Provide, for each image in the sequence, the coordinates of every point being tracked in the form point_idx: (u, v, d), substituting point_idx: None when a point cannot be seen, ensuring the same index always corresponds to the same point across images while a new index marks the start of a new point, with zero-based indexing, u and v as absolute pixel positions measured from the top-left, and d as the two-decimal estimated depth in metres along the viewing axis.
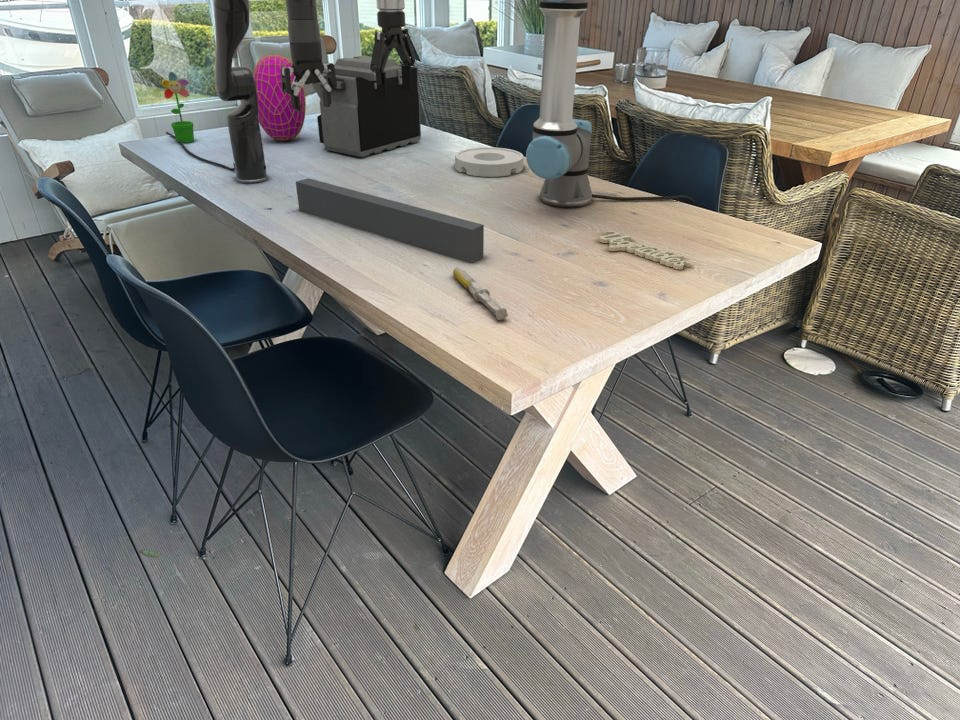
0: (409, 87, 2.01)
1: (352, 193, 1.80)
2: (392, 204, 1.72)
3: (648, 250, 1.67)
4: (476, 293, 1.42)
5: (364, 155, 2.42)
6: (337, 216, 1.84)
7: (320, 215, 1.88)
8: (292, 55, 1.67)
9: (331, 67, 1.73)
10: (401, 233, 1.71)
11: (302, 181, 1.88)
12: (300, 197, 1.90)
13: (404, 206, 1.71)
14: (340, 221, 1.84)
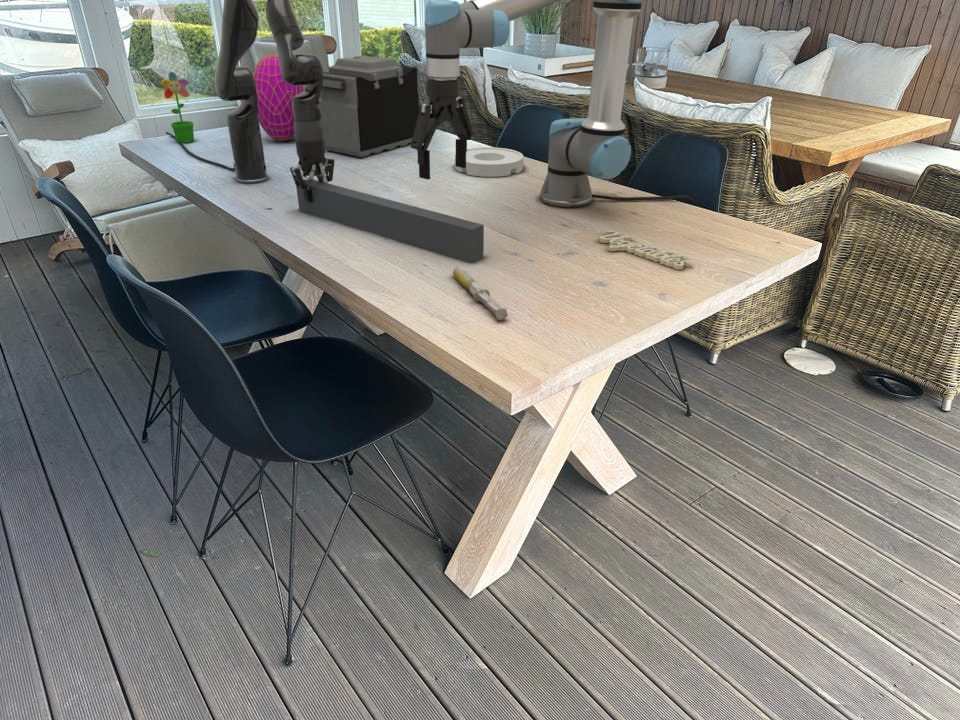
0: (463, 164, 1.68)
1: (352, 193, 1.80)
2: (392, 204, 1.72)
3: (648, 250, 1.67)
4: (476, 293, 1.42)
5: (364, 155, 2.42)
6: (337, 216, 1.84)
7: (320, 215, 1.88)
8: (299, 152, 1.80)
9: (332, 162, 1.88)
10: (401, 233, 1.71)
11: None
12: (300, 197, 1.90)
13: (404, 206, 1.71)
14: (340, 221, 1.84)
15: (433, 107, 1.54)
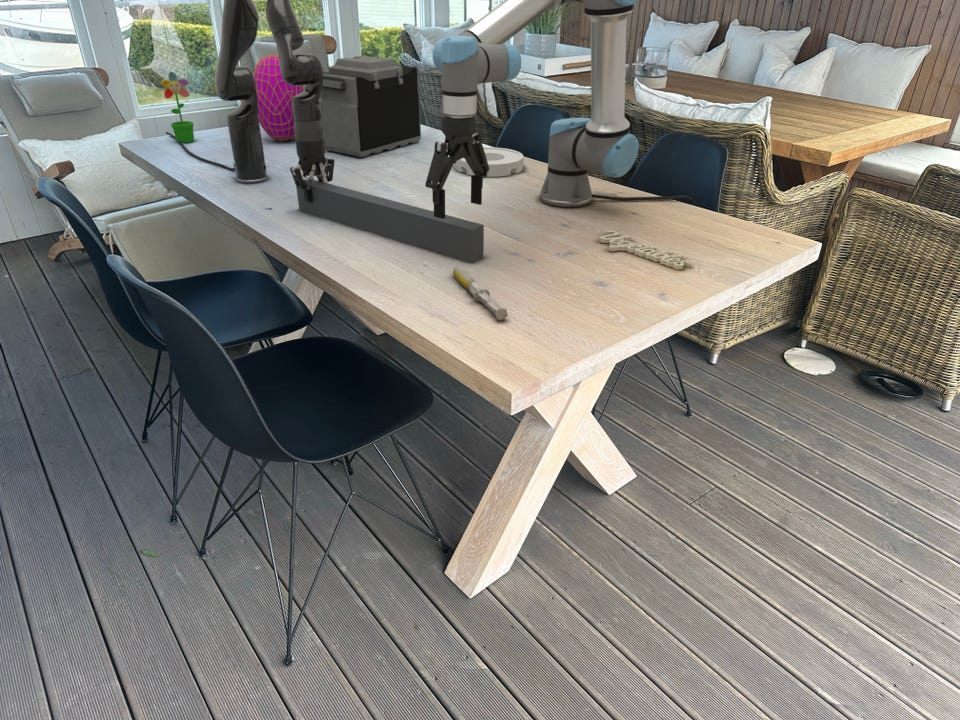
0: (478, 201, 1.63)
1: (352, 193, 1.80)
2: (392, 204, 1.72)
3: (648, 250, 1.67)
4: (476, 293, 1.42)
5: (364, 155, 2.42)
6: (337, 216, 1.84)
7: (320, 215, 1.88)
8: (299, 152, 1.80)
9: (332, 162, 1.88)
10: (401, 233, 1.71)
11: None
12: (300, 197, 1.90)
13: (404, 206, 1.71)
14: (340, 221, 1.84)
15: (449, 145, 1.48)
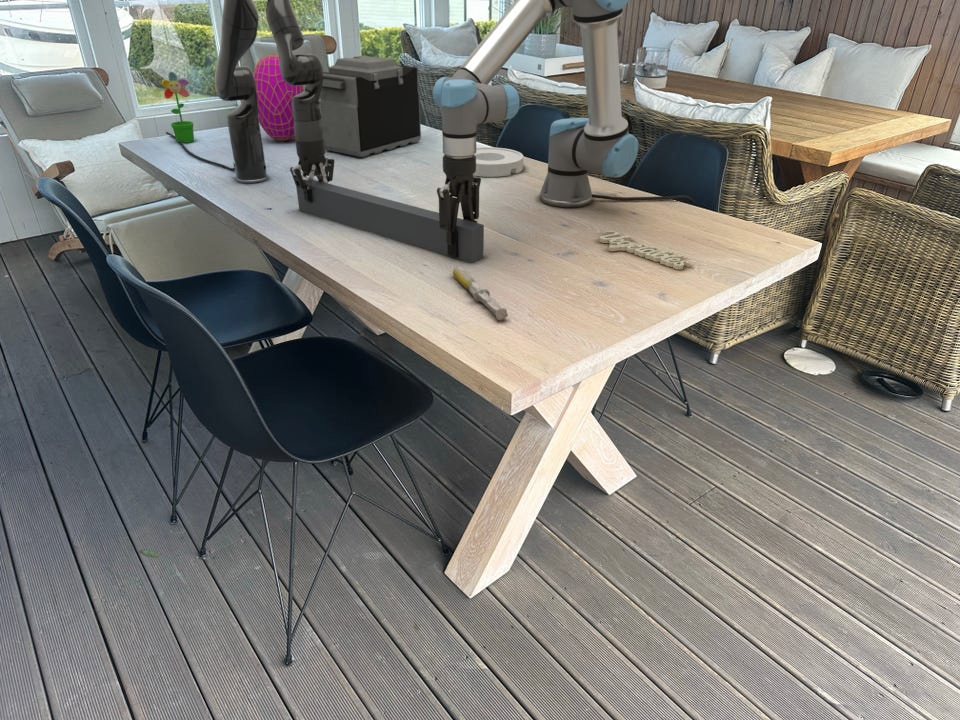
0: None
1: (352, 193, 1.80)
2: (392, 204, 1.72)
3: (648, 250, 1.67)
4: (476, 293, 1.42)
5: (364, 155, 2.42)
6: (337, 216, 1.84)
7: (320, 215, 1.88)
8: (299, 152, 1.80)
9: (331, 162, 1.88)
10: (401, 233, 1.71)
11: None
12: (300, 197, 1.90)
13: (404, 206, 1.71)
14: (340, 221, 1.84)
15: (450, 184, 1.53)
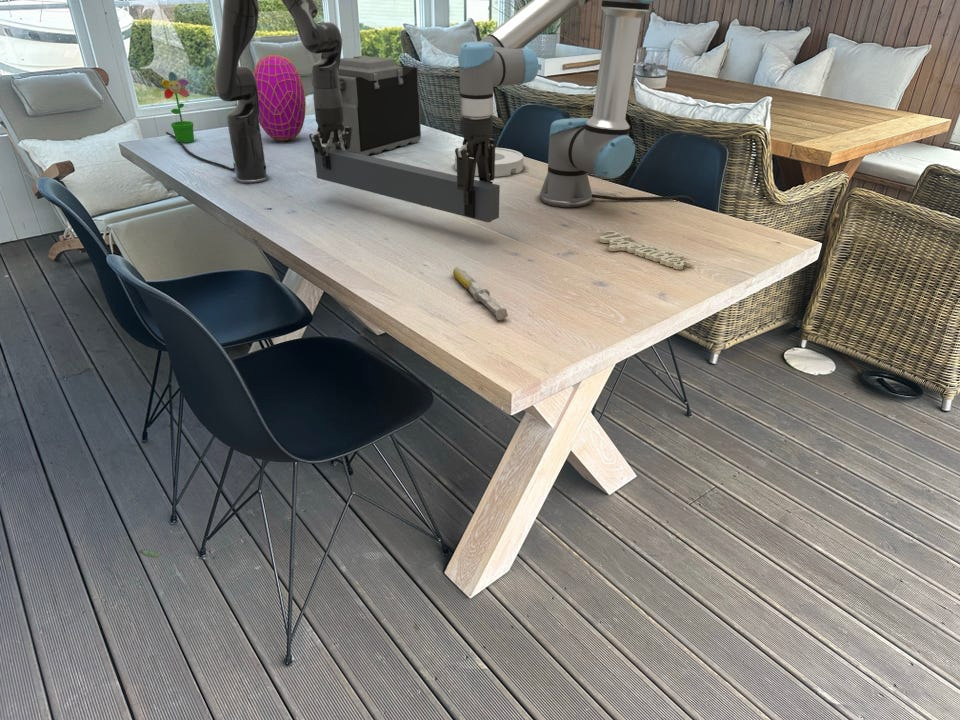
0: None
1: (369, 159, 1.85)
2: (410, 168, 1.77)
3: (648, 250, 1.67)
4: (476, 293, 1.42)
5: None
6: (354, 181, 1.89)
7: (338, 182, 1.93)
8: (318, 119, 1.85)
9: (349, 130, 1.93)
10: (418, 196, 1.77)
11: None
12: (318, 165, 1.95)
13: (421, 169, 1.76)
14: (358, 187, 1.89)
15: (468, 145, 1.58)
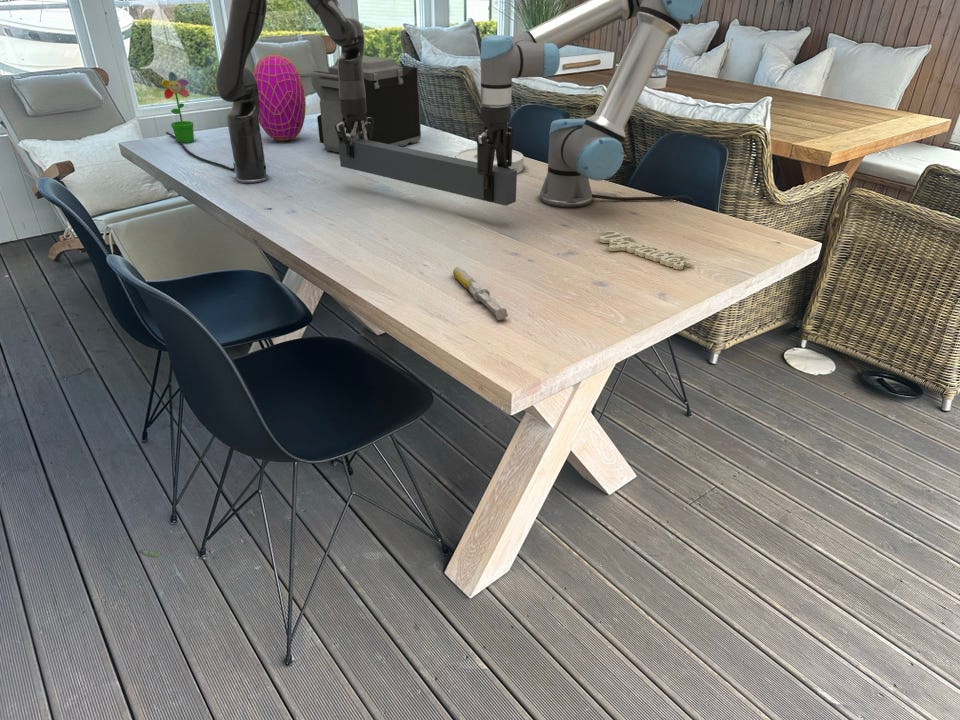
0: None
1: (392, 147, 1.95)
2: (431, 155, 1.88)
3: (648, 250, 1.67)
4: (476, 293, 1.42)
5: None
6: (377, 169, 1.99)
7: (361, 169, 2.03)
8: (343, 110, 1.96)
9: (371, 121, 2.04)
10: (439, 182, 1.87)
11: None
12: (341, 154, 2.06)
13: (441, 157, 1.87)
14: (380, 174, 1.99)
15: (487, 132, 1.69)
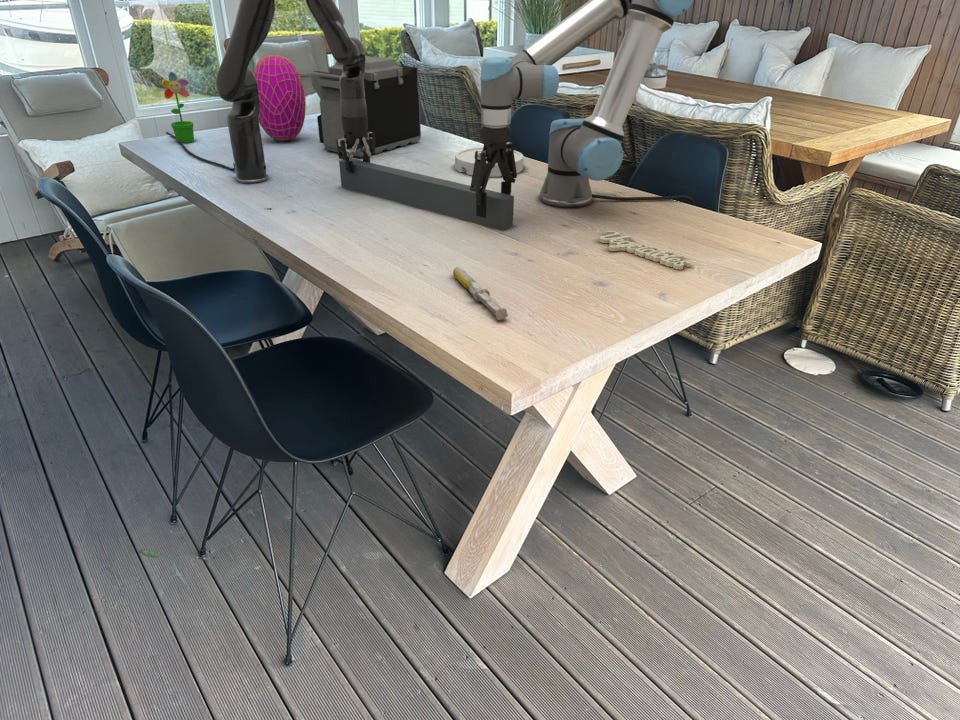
0: None
1: (392, 170, 1.99)
2: (430, 179, 1.92)
3: (648, 250, 1.67)
4: (476, 293, 1.42)
5: None
6: (377, 191, 2.03)
7: (361, 191, 2.07)
8: (345, 127, 1.99)
9: (373, 135, 2.06)
10: (438, 205, 1.91)
11: None
12: (342, 175, 2.10)
13: (440, 181, 1.90)
14: (380, 196, 2.03)
15: (487, 151, 1.71)
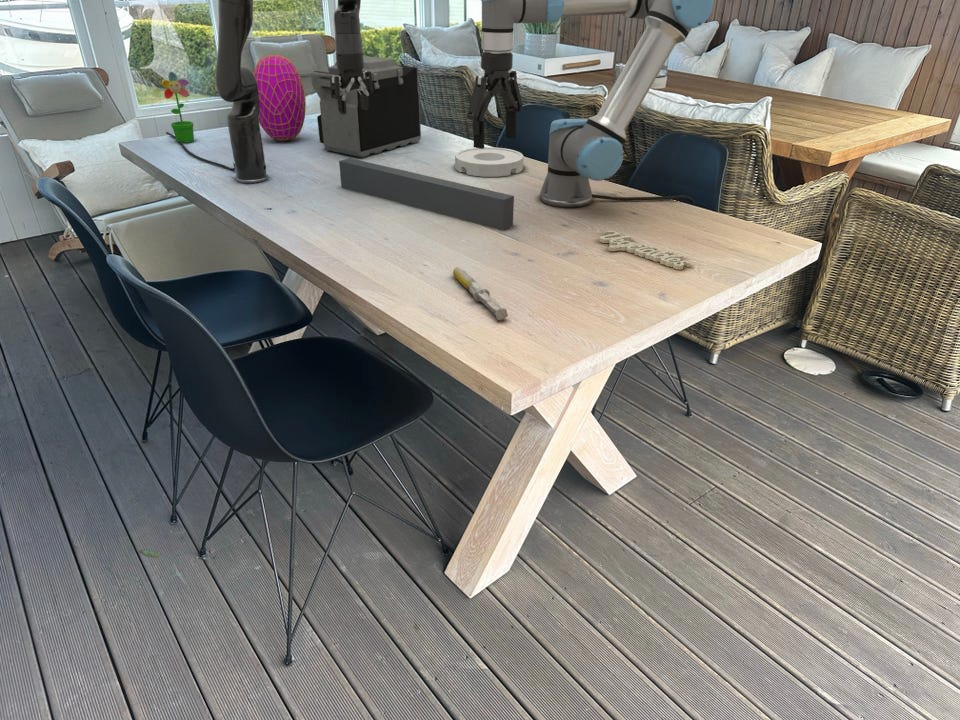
0: (513, 135, 1.77)
1: (392, 170, 1.99)
2: (430, 179, 1.92)
3: (648, 250, 1.67)
4: (476, 293, 1.42)
5: (364, 155, 2.42)
6: (377, 191, 2.03)
7: (361, 191, 2.07)
8: (339, 65, 1.90)
9: (369, 74, 1.98)
10: (438, 205, 1.91)
11: (345, 160, 2.08)
12: (342, 175, 2.10)
13: (440, 181, 1.90)
14: (380, 196, 2.03)
15: (488, 79, 1.63)
